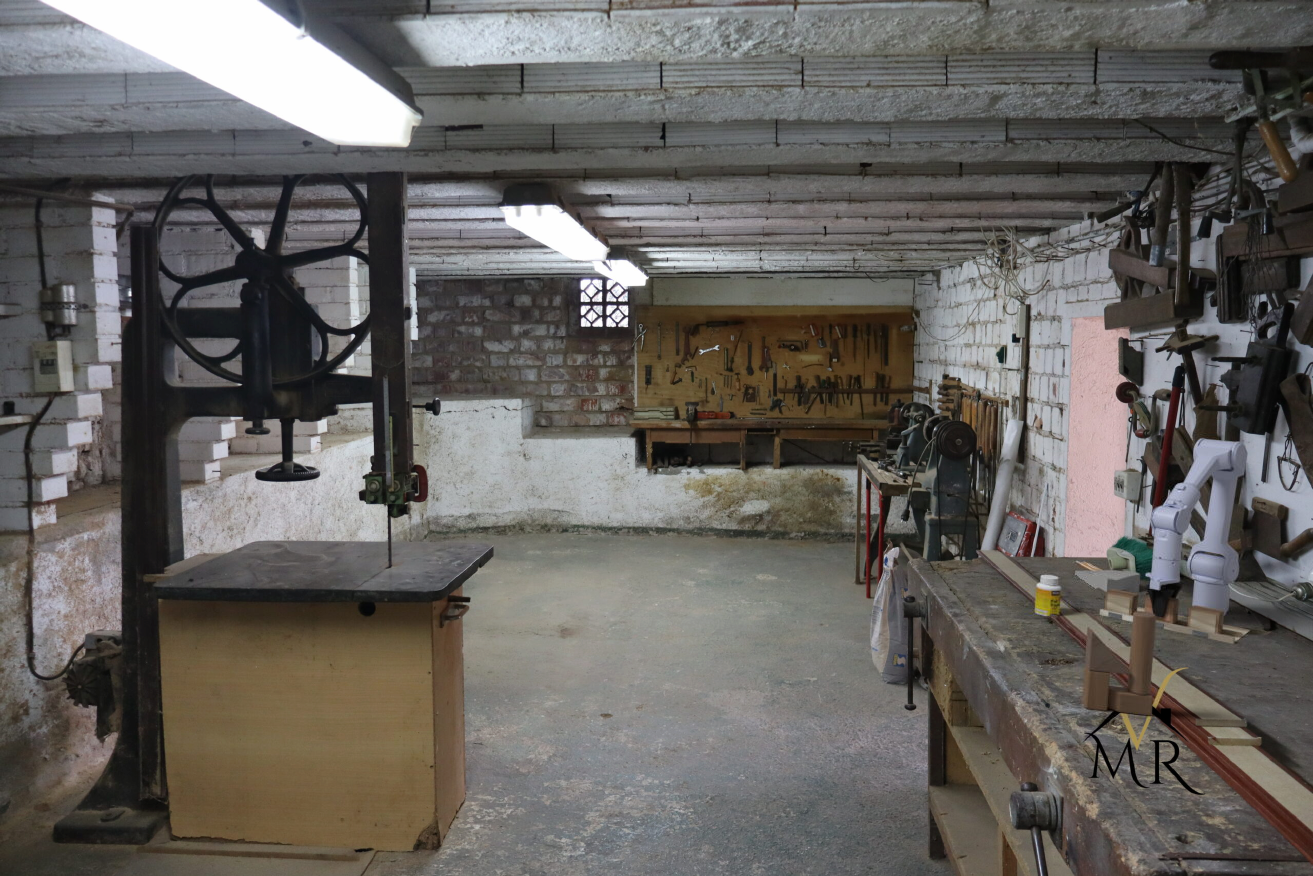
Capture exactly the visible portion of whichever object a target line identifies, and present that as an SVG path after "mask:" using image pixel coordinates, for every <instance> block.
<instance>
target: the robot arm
mask: <svg viewBox="0 0 1313 876" xmlns="http://www.w3.org/2000/svg"><path fill="white" fill-rule="evenodd" d="M1192 453H1193V455H1192V456H1193V457H1192V458H1193V463H1192V465H1191V467H1190V469H1189V471H1188V473H1187V475H1186V477H1185V479H1184V481H1183V482H1180V483H1179V482H1178V483H1177V484H1176V485H1174V487H1173V489H1172V490H1171V492H1170V493H1169V495H1168V496H1167V498H1166V500H1165V502H1164V503H1163V504H1162V505H1159V506H1157V507H1155V508H1154V509H1153V510H1152V512H1151V516H1150V519H1149V523H1150V526H1151V535H1152V537H1153V548H1152V549H1153V550H1152V560H1151V572H1146V573H1145V577H1147V578H1150V581H1149V582H1150V583H1148V584H1146V585H1145V590H1146V592H1147V594H1148V595H1149V596H1150V600H1151V604H1152V610H1153V614H1155V615H1156V616H1157V617H1162V618H1163V617H1164V616H1165V613H1166V609H1167V605H1168V602H1169V599H1170V598H1175V599H1177V596H1178V594H1179V592H1181V590H1182V589H1183V584H1182V583H1181V577H1180V576H1181V575H1180V574H1181V573H1180V572H1181V560H1182V549H1183V548H1182V547H1183V537H1184V534H1185V533H1186V532H1187V530H1189V526H1190V521H1191V519H1192V515H1193V514H1192V511H1193V510H1194V508H1195V507H1196V506H1197V504H1198V502H1199V500H1200V499H1201V497H1202V494H1201V492H1200V489H1202V487H1203V486H1204V484H1205V483H1206V482H1207V481H1208V480H1209V478H1210V477H1212V479H1213V480H1212V485H1211V492H1210V498H1209V505H1208V511H1207V518H1206V523H1205V530H1204V534H1203V535H1204V537H1203V540H1202V541H1199V542H1197V543H1196V544H1194V545H1192V548H1191V551H1190V553H1189V556H1188V557H1187V561H1186V567H1187V568H1186V569H1187V571H1188V574H1189V575H1191V579H1192V580H1194V583H1193V593H1192V604H1191V607H1192V606H1194V605H1197V606H1202V607H1207V608H1212V609H1218V610H1223V611H1224V616H1226V615H1227V612H1228V611H1229V609H1230V608H1229V607H1230V606H1229V605H1230V596H1231V595H1230V594H1231V590H1230V584H1232V583H1234V581H1236V580H1237V578H1238V576H1239V573H1240V565H1239V555H1240V554H1239V553H1238V552H1237V551H1236V550H1235V549H1234V548H1233V547H1232V546H1231V545H1230V544H1229V543H1228V540H1229V536H1230V528H1231V522H1232V515H1233V510H1234V503H1235V497H1236V490H1237V484H1238V479H1239V477H1242V476H1244V475H1245V470H1246V466H1247V461H1248V450H1247V448H1246V445H1245V444H1244V443H1243V441H1230V440H1219V439H1209V438H1208V439H1207V438H1204V437H1203V438H1199V439H1198V440H1197V441H1196V443H1195V444H1194V447H1193V452H1192ZM1212 553H1213V554H1212ZM1217 554H1218V555H1217Z"/></svg>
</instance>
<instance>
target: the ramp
mask: <svg viewBox="0 0 1313 876" xmlns="http://www.w3.org/2000/svg"><path fill="white" fill-rule="evenodd" d="M1075 575H1077V576H1078V577H1079V578H1080V579H1082V580H1084V581H1085V582H1086V583H1088V584H1089V585H1091V586H1092V587H1094V588H1095V589H1094V590H1096V589H1100V590H1102V591H1103V592H1105V593H1106V591H1109V590H1111V589H1115V590H1120V591H1125V590H1126V591H1128V592H1129V591H1130V592H1133V593H1139V592H1140V582H1141V581H1140V579H1141V574H1140V573H1139V572H1136V571H1127V570H1126V571H1125V570H1116V569H1105V570H1093V569H1091V570H1087V569H1086V570H1075V571H1074V576H1075ZM1089 585H1088V586H1089ZM1092 587H1091V588H1092Z"/></svg>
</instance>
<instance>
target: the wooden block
mask: <svg viewBox="0 0 1313 876" xmlns="http://www.w3.org/2000/svg"><path fill="white" fill-rule="evenodd" d="M1155 626H1156V615H1155V614H1153V613H1150V612H1144V611H1136V612H1134V613H1133V622H1132V625H1131V639H1130V649H1129V650H1130V652H1129V664H1128V665H1129V666H1128V667H1127V666H1126V665H1125V664H1124V663H1123V661H1121V659H1119V658H1118V656H1117V655H1116V654H1115V653H1114V652H1113V651H1112V650H1111V649H1110V648H1109V647H1108V646H1107V644H1105V643H1104V641H1103V640H1102V639H1101V638H1100V637H1099V636H1098V635H1097V634H1096V633H1095V632H1094V631H1093V629H1091V628H1090V627H1089V626H1087V631H1086V643H1085V653H1084V655H1085V657H1084V670H1083V681H1082V682H1083V686H1082V697H1081V702H1082V704H1083V705H1084V707H1085V709H1087V710H1088V709H1089V710H1095V711H1096V710H1097V711H1105V712H1106V711H1107V710H1108V709H1110V710H1112V711H1115V712H1118V713H1124V714H1135V715H1141V716H1142V715H1143V716H1152V713H1153V701H1154V700H1153V699H1154V697H1153V695H1152V694H1151V685H1152V674H1153V673H1152V672H1153V661H1154V649H1155V639H1156V638H1155V637H1156V636H1155V635H1156V627H1155ZM1111 673H1114V674H1124V675H1128V676H1127V687H1124V686H1123V687H1122V686H1115V685H1114V686H1113V685H1110V677H1111V676H1110V675H1111Z"/></svg>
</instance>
